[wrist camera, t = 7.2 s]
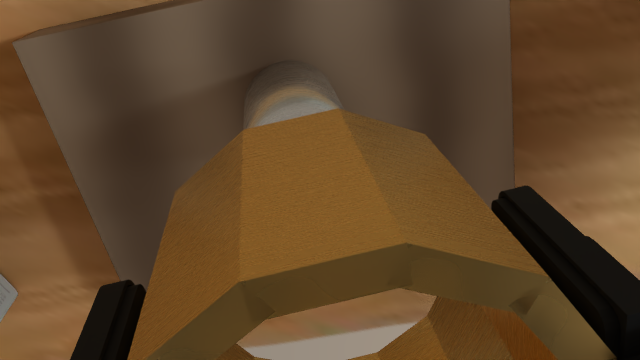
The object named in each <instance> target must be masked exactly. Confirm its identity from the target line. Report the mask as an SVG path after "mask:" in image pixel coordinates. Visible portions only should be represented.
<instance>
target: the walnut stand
mask: <svg viewBox="0 0 640 360" xmlns="http://www.w3.org/2000/svg"><path fill="white" fill-rule="evenodd" d="M12 44H13V46H14V48H15V50H16V52H17V55H18V57H19V59H20V61H21V63H22V66H23V68H24V70H25V72H26V74H27V77H28V79H29V81H30V83H31V85H32V88H33V90H34V92H35V94H36V96H37V99H38V101H39V103H40V105H41V107H42V110H43V112H44V114H45V116H46V118H47V121H48V123H49V125H50V127H51V129H52V132H53V134H54V136H55V138H56V140H57V142H58V145H59V147H60V149H61V151H62V153H63V156H64V158H65V160H66V162H67V164H68V167H69V169H70V171H71V173H72V175H73V178H74V180H75V182H76V184H77V186H78V189H79V191H80V193H81V195H82V197H83V200H84V202H85V204H86V206H87V208H88V211H89V213H90V215H91V217H92V219H93V222H94V224H95V226H96V228H97V230H98V233H99V235H100V237H101V239H102V241H103V243H104V246H105V248H106V250H107V252H108V254H109V257H110V259H111V261H112V263H113V265H114V268H115V270H116V272H117V274H118V276H119V279H120V281H124V280H128V279H129V280H131V281H132V282H133V283H134V284H135V285H137V284H142V285H143V286H144V288H145V290H146V292H147V289H148V286H149V282H150V279H151V275H152V272H153V268H154V265H155V261H156V258H157V254H158V250H159V247H160V243H161V240H162V236H163V233H164V229H165V226H166V222H167V219H168V215H169V212H170V208H171V205H172V201H173V198H174V194H175V191H176V190H177V189H178V188H179V187H181V186H182V185H183V184H184V183H185V182H186V181H187V180H188V179H189V178H191V177H192V176H193V175H194V174H195V173H196V172H197V171H198V170H199V169H200V168H202V167H203V166H204V165H205V164H206V163H207V162H208V161H209V160H210V159H211V158H213V157H214V156H215V155H216V154H217V153H218V152H219V151H220V150H221V149H223V148H224V147H225V146H226V145H227V144H228V143H229V142H230V141H231V140H232V139H234V138H235V137H236V136H237V135H238V134H239V133H240V132H241V131H242V130H243V128H244V100H245V95H246V91H247V89H248V86H249V85H250V83H251V81H252V80H253V78H254V77H255V76H256V75H257V74H258V73H259V72H260V71H261V70H263V69H264V68H266V67H267V66H269V65H272V64H274V63H277V62H281V61H300V62H304V63H307V64H309V65H311V66H313V67H315V68H317V69H318V70H319V71H321V72H322V73H323V74H324V75H325V77H326V78H327V79H328V81H329V82H330V84H331V86H332V88H333V89H334V91H335V93H336V95H337V97H338V99H339V101H340V102H341V104H342V106H343V108H344V110H346V111H349V112H353V113H356V114H360V115H363V116H366V117H370V118H373V119H376V120H380V121H383V122H386V123H390V124H393V125H396V126H400V127H403V128H406V129H410V130H413V131H417V132H420V133H423V134H425V135H426V136H427V137H428V138H429V139H430V140H431V142H432V143H433V144H434V145H435V146H436V147H437V148H438V150H439V151H440V152H441V153H442V154H443V155H444V156H445V158H446V159H447V160H448V161H449V162H450V163H451V165H452V166H453V167H454V168H455V169H456V170H457V171H458V173H459V174H460V175H461V176H462V177H463V178H464V179H465V181H466V182H467V183H468V184H469V185H470V186H471V187H472V189H473V190H474V191H475V192H476V193H477V194H478V195H479V197H480V198H481V199H482V200H483V201H484V202H485V204H486V205H487V206H488V207H489V208H490V209H491V204H492V201H493V200H496V199H498V196H499V193H500V192H501V191H505V190H509V189H513V188H515V179H514V143H513V107H512V71H511V35H510V0H172V1H168V2H163V3H159V4H154V5H150V6H145V7H140V8H136V9H131V10H127V11H122V12H118V13H113V14H109V15H104V16H100V17H95V18H90V19H86V20H81V21H77V22H72V23H68V24H63V25H59V26H54V27H49V28H45V29H40V30H38V31H36V32H34V33H31V34H29V35H27V36H25V37H23V38H21V39H18V40H16V41H14V42H12Z"/></svg>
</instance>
